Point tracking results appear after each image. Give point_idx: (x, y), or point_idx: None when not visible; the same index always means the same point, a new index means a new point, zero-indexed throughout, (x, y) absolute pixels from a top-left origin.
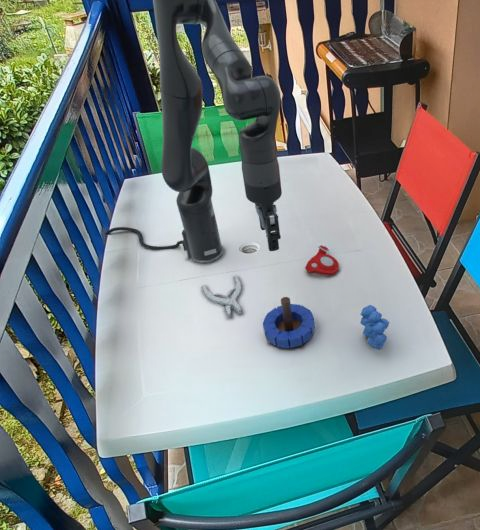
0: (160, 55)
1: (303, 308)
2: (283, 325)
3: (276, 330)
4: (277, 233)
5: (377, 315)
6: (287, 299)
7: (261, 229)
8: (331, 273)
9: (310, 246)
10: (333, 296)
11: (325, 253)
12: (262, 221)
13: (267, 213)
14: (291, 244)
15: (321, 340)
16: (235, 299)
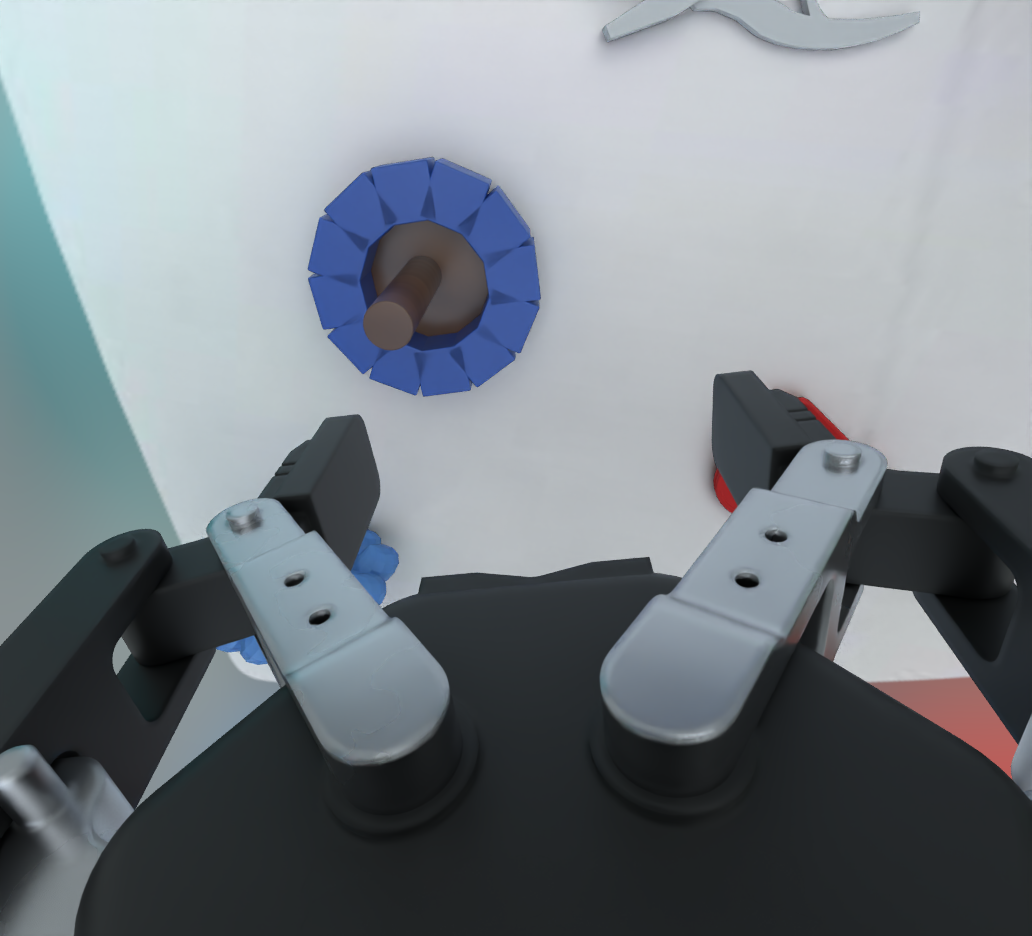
0: None
1: (493, 362)
2: (458, 253)
3: (373, 225)
4: (130, 684)
5: (244, 658)
6: (390, 337)
7: (717, 376)
8: (715, 489)
9: (952, 435)
10: (594, 466)
11: None
12: (256, 620)
13: (71, 910)
14: (1020, 356)
15: (369, 386)
16: (714, 8)
